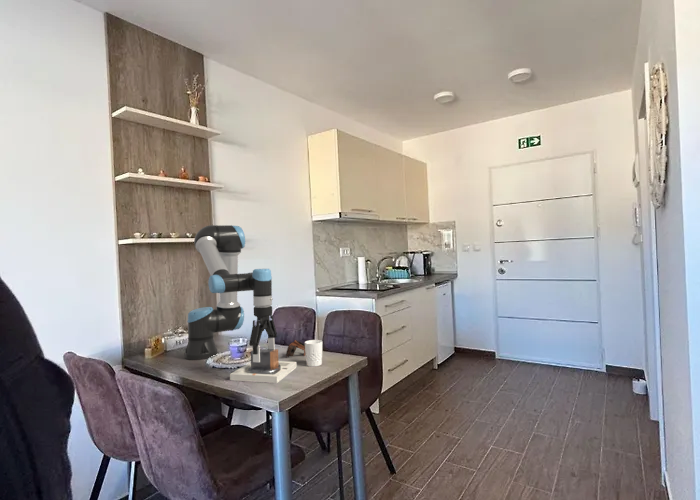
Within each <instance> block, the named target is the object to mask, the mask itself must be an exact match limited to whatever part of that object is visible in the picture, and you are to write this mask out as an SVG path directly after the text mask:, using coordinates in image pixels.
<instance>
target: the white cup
mask: <svg viewBox="0 0 700 500" xmlns="http://www.w3.org/2000/svg"><path fill="white" fill-rule="evenodd" d="M304 344H305V354H306V355H305V360H306V366H308V367H319V366H321V365H322V364H323V340H321V339H320V340H319V339H310V340H306V341H304Z"/></svg>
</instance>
